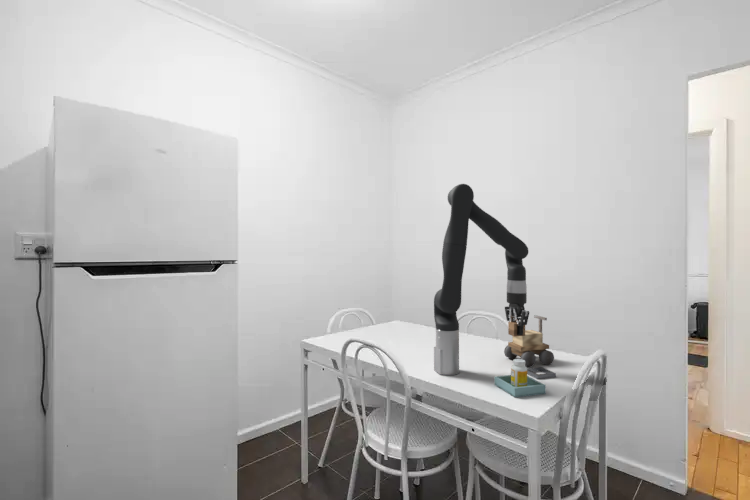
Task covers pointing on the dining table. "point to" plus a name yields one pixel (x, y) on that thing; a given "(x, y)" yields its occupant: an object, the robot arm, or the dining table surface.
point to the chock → (514, 329)
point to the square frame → (540, 376)
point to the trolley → (530, 347)
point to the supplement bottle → (518, 373)
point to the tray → (531, 388)
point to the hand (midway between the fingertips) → (516, 333)
